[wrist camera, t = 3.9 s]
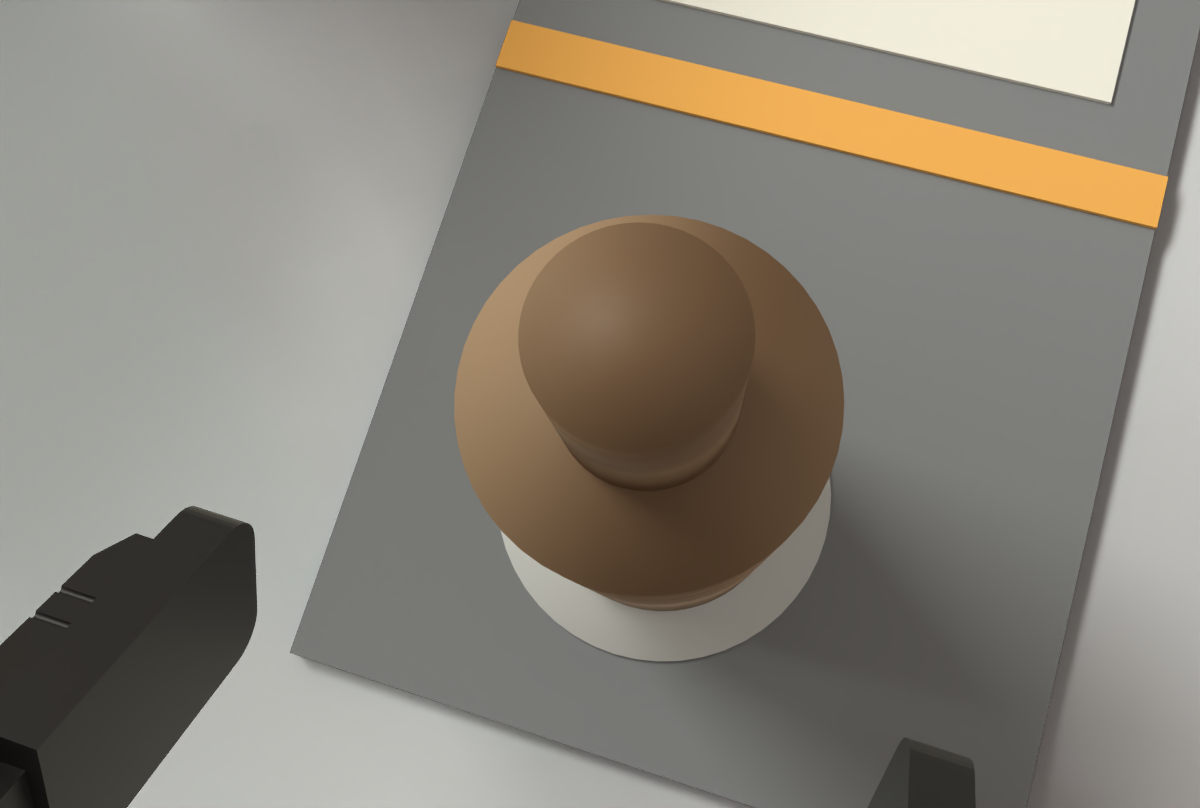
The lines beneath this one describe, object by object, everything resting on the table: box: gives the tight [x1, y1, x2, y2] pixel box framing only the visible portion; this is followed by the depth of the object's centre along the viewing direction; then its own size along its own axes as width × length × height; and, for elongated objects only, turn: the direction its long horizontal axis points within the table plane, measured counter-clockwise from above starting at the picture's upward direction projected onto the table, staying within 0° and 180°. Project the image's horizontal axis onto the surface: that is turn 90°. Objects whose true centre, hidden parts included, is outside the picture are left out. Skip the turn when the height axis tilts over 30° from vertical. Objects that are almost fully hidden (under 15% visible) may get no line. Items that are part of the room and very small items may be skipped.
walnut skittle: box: [454, 215, 844, 611], centre depth 17 cm, size 5×5×12 cm
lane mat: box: [290, 0, 1200, 808], centre depth 24 cm, size 15×25×1 cm, turn 163°
